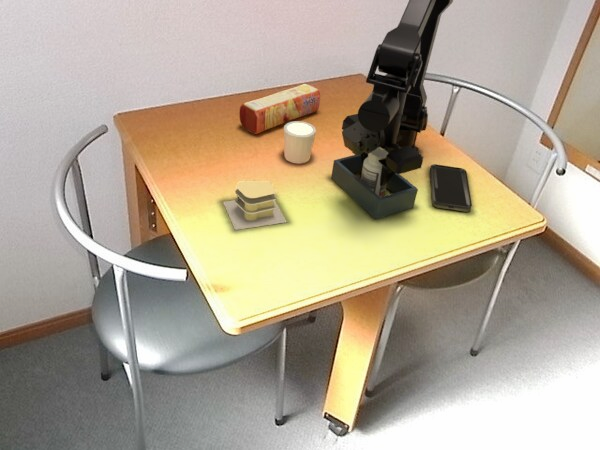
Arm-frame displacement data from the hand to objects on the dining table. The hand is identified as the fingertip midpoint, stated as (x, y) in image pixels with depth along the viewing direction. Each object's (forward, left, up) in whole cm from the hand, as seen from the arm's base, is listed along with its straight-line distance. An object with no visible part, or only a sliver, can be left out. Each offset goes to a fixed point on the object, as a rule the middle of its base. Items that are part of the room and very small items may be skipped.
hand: (374, 178), depth 124 cm
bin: (0, 0, -4) cm, 4 cm away
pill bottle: (0, 0, -4) cm, 4 cm away
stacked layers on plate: (+25, -4, -4) cm, 26 cm away
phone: (-16, +6, -4) cm, 17 cm away
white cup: (+7, -18, -4) cm, 20 cm away
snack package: (+2, -34, -4) cm, 34 cm away
